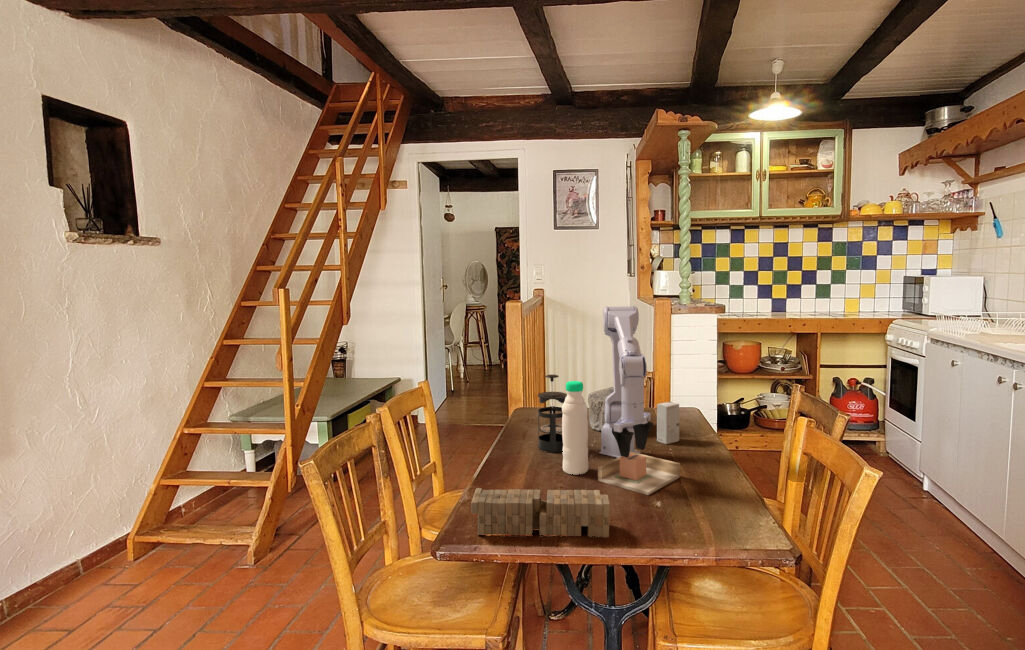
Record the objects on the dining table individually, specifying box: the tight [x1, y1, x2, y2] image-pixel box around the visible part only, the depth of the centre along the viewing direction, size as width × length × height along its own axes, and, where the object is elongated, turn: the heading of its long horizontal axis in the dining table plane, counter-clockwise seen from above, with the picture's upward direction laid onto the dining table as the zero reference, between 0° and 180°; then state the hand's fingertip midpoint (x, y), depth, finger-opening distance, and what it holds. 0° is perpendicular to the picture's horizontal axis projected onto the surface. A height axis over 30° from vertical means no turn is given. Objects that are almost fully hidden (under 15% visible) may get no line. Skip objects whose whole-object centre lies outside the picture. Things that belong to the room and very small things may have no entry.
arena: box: [597, 452, 681, 496], centre depth 158 cm, size 15×16×4 cm
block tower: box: [470, 487, 611, 538], centre depth 130 cm, size 8×8×29 cm
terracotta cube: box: [620, 453, 646, 480], centre depth 158 cm, size 5×5×5 cm
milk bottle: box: [561, 380, 589, 476], centre depth 164 cm, size 7×7×25 cm
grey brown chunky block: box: [587, 386, 622, 432], centre depth 205 cm, size 19×17×15 cm
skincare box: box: [656, 401, 680, 445], centre depth 189 cm, size 6×4×12 cm
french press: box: [537, 374, 568, 453], centre depth 185 cm, size 12×9×23 cm
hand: (632, 452), depth 157 cm, fingers open, 7 cm apart
